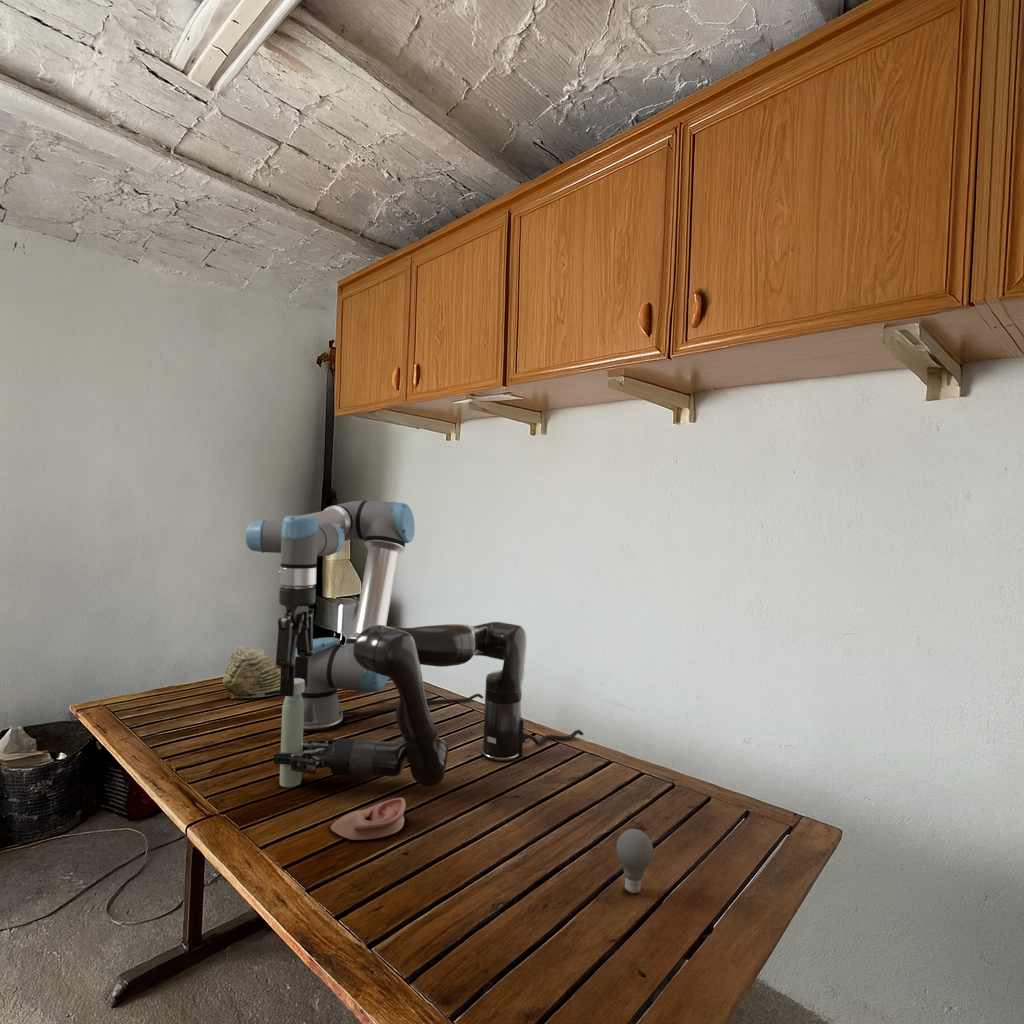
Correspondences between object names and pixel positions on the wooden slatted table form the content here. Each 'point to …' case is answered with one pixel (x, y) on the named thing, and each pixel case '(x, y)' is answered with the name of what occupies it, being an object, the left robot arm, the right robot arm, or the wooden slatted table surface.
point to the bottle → (291, 737)
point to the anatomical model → (372, 821)
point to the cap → (299, 686)
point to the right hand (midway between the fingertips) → (279, 753)
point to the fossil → (251, 674)
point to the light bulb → (634, 857)
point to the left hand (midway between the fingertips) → (293, 690)
